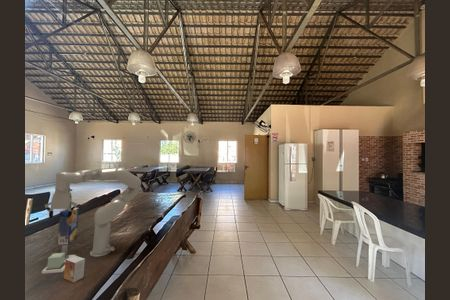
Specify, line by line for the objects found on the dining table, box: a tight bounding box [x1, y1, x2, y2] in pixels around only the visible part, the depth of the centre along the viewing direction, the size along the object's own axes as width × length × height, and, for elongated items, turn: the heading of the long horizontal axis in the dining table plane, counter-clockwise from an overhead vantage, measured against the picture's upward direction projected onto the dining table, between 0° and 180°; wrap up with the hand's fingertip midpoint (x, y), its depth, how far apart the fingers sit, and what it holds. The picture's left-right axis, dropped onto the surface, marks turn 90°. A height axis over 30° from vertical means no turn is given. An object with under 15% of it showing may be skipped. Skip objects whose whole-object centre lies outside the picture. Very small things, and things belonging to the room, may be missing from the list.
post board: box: [41, 244, 77, 275], centre depth 127 cm, size 18×10×10 cm, turn 16°
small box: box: [63, 255, 86, 283], centre depth 115 cm, size 8×6×10 cm
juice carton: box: [57, 207, 80, 245], centre depth 160 cm, size 12×8×24 cm, turn 11°
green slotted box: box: [46, 252, 65, 269], centre depth 122 cm, size 6×6×6 cm
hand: (60, 217), depth 134 cm, fingers open, 9 cm apart
